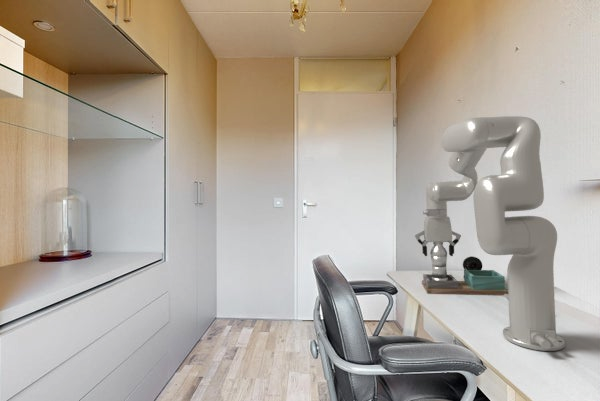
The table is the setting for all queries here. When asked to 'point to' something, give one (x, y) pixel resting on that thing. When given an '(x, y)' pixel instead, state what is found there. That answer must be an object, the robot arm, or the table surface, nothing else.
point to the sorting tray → (468, 284)
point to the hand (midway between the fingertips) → (438, 255)
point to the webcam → (472, 263)
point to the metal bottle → (439, 262)
